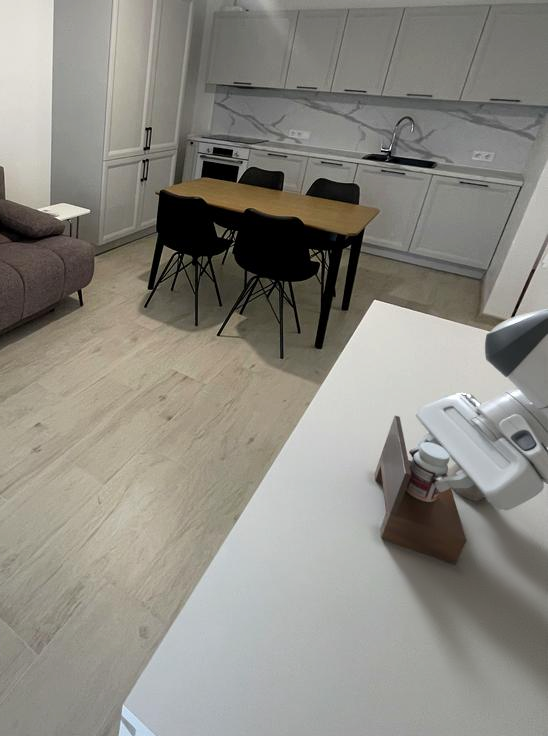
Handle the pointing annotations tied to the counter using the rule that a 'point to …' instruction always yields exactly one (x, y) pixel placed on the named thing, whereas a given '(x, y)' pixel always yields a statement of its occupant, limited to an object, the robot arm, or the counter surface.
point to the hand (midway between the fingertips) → (423, 471)
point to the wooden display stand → (416, 507)
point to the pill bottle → (427, 471)
